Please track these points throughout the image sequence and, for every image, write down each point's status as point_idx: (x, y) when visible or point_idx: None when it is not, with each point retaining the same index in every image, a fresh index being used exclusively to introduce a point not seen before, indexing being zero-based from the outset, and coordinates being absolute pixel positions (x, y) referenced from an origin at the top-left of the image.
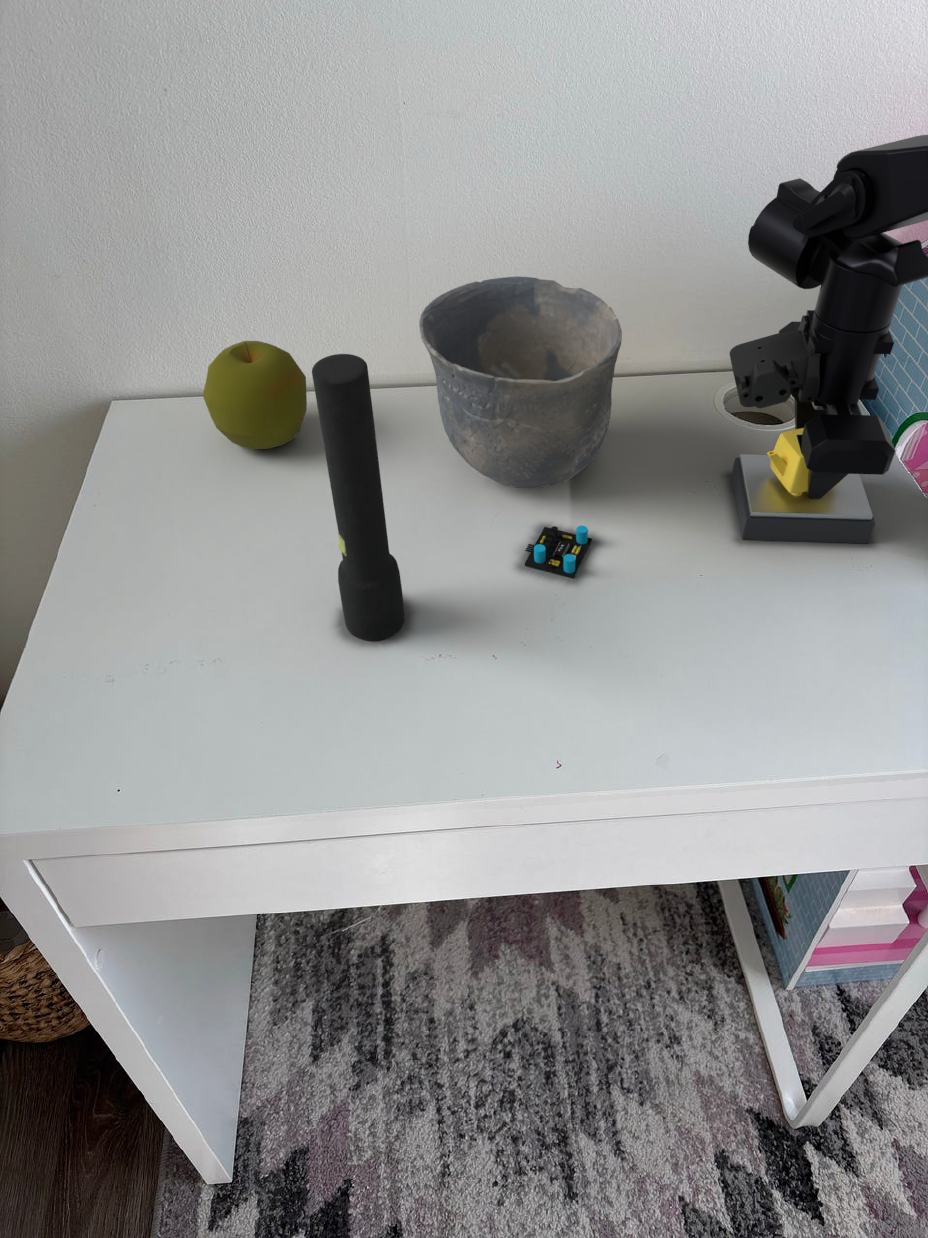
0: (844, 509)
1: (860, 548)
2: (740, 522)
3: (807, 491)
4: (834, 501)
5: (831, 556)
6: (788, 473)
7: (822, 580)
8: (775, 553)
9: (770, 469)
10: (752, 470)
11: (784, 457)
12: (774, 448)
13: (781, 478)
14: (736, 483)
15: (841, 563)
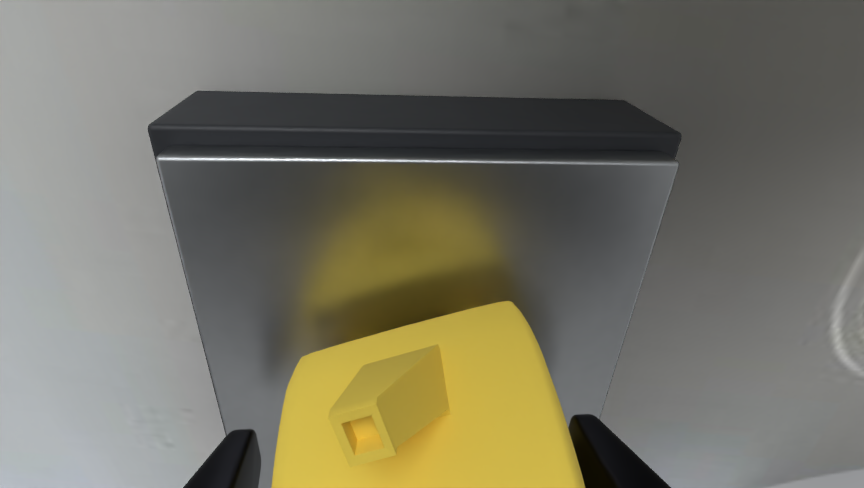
0: (268, 485)
1: None
2: (276, 98)
3: (235, 451)
4: None
5: (183, 368)
6: (325, 416)
7: (46, 335)
8: (145, 212)
9: (529, 286)
10: (530, 207)
11: (412, 444)
12: (541, 389)
13: (379, 347)
14: (518, 114)
15: (157, 387)
